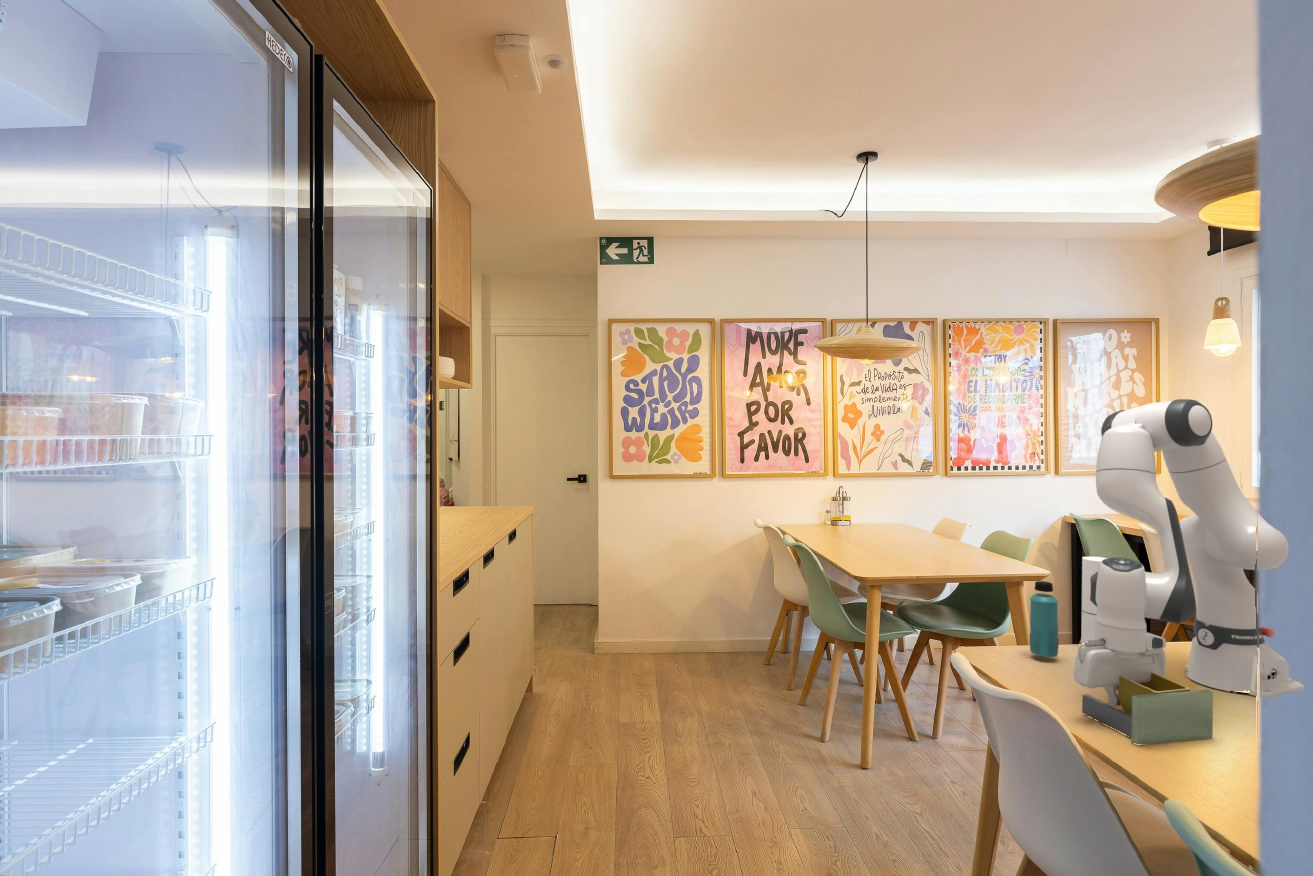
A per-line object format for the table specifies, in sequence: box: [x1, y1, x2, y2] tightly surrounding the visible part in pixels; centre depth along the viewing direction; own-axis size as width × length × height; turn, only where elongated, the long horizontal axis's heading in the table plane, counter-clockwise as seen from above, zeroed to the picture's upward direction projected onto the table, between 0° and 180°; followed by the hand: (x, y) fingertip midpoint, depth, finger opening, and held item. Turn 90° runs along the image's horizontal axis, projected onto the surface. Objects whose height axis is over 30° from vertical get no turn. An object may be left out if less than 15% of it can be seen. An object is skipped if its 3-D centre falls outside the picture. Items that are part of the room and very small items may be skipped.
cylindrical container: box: [1080, 556, 1108, 645], centre depth 179 cm, size 7×7×25 cm
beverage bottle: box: [1029, 580, 1060, 658], centre depth 174 cm, size 6×7×20 cm
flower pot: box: [1117, 672, 1191, 715], centre depth 135 cm, size 9×9×9 cm
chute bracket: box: [1081, 689, 1214, 745], centre depth 134 cm, size 17×14×9 cm
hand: (1118, 704), depth 139 cm, fingers closed, pressing on flower pot
